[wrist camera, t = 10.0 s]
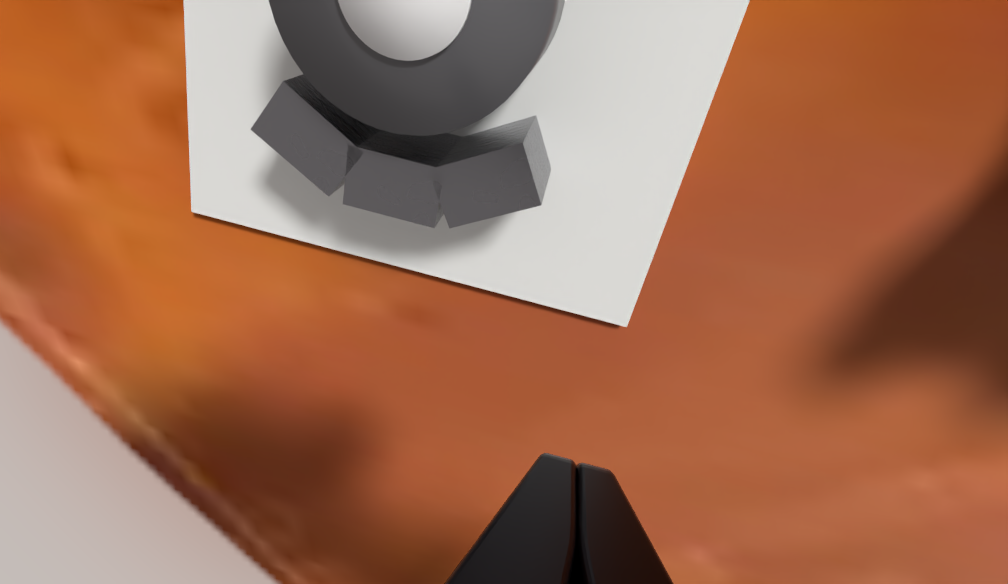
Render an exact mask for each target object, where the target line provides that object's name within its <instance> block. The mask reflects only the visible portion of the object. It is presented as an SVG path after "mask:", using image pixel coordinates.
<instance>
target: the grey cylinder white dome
mask: <svg viewBox="0 0 1008 584" xmlns="http://www.w3.org/2000/svg"><path fill="white" fill-rule="evenodd" d="M564 3H565V0H269V4H270V7H271V10H272V14H273V17H274V20H275V23H276V26H277V28H278V30H279V33H280V35H281V37H282V40H283V42H284V44H285V46H286V47H287V49H288V51H289V53H290V55H291V56H292V58H293V60H294V61H295V63H296V64H297V66H298V67H299V68H300V70H301V71H302V73H303V74H304V75H305V77H306V78H307V79H308V80H309V81H310V82H311V84H312V85H313V86H314V87H315V88H316V89H317V90H318V91H319V92H320V93H321V94H322V95H323V96H324V97H325V98H326V99H328V100H329V101H330V102H331V103H332V104H334V105H335V106H336V107H338V108H339V109H340V110H342V111H343V112H345V113H346V114H348V115H350V116H351V117H353V118H355V119H357V120H358V121H360V122H362V123H365V124H367V125H370V126H372V127H374V128H377V129H380V130H384V131H388V132H391V133H396V134H403V135H410V136H429V135H436V134H443V133H448V132H451V131H455V130H458V129H462V128H464V127H466V126H468V125H471V124H473V123H475V122H477V121H479V120H481V119H482V118H484V117H485V116H487V115H489V114H490V113H492V112H493V111H494V110H495V109H497V108H498V107H499V106H500V105H502V104H503V103H504V102H505V101H506V100H507V99H508V98H509V97H510V96H511V95H512V94H513V93H514V92H515V90H516V89H517V88H518V87H519V86H520V85H521V83H522V82H523V81H524V80H525V78H526V77H527V76H528V74H529V73H530V72H531V71H532V69H533V68H534V67H535V66H536V64H537V63H538V62H539V60H540V59H541V58H542V56H543V55H544V53H545V52H546V50H547V49H548V47H549V45H550V43H551V41H552V39H553V38H554V36H555V33H556V30H557V28H558V25H559V23H560V20H561V16H562V12H563V8H564Z"/></svg>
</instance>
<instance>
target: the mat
mask: <svg viewBox="0 0 1008 584" xmlns="http://www.w3.org/2000/svg"><path fill="white" fill-rule="evenodd" d="M749 1H750V0H565V3H564V8H563V12H562V16H561V20H560V23H559V25H558V28H557V30H556V33H555V36H554V38H553V39H552V41H551V43H550V45H549V47H548V49H547V50H546V52H545V53H544V55H543V56H542V58H541V59H540V60H539V62H538V63H537V64H536V66H535V67H534V68H533V69H532V71H531V72H530V73H529V74H528V76H527V77H526V78H525V80H524V81H523V82H522V83H521V85H520V86H519V87H518V88H517V89H516V90H515V92H514V93H513V94H512V95H511V96H510V97H509V98H508V99H507V100H506V101H505V102H504V103H503V104H502V105H500V106H499V107H498V108H497V109H495V110H494V111H493V112H492V113H490V114H489V115H487V116H485V117H484V118H482V119H481V120H479V121H477V122H475V123H473V124H471V125H468V126H466V127H464V128H462V129H458V130H455V131H451V132H448V133H450V134H454V135H458V136H462V137H463V136H467V135H470V134H474V133H477V132H480V131H484V130H487V129H491V128H494V127H498V126H501V125H504V124H508V123H511V122H515V121H518V120H522V119H525V118H528V117H532V116H535V115H536V116H537V120H538V123H539V127H540V130H541V134H542V137H543V141H544V144H545V148H546V151H547V155H548V159H549V162H550V166H551V172H550V176H549V179H548V183H547V187H546V190H545V194H544V198H543V201H542V205H541V206H537V207H533V208H529V209H525V210H521V211H517V212H513V213H509V214H505V215H501V216H497V217H493V218H489V219H485V220H481V221H477V222H473V223H469V224H465V225H461V226H457V227H453V228H449V226H448V223H447V221H446V218H445V215H443V216H442V218H441V219H440V221H439V222H438V224H437V225H436V227H435V228H431V227H428V226H424V225H420V224H416V223H412V222H409V221H405V220H401V219H397V218H393V217H390V216H386V215H382V214H378V213H374V212H371V211H367V210H363V209H359V208H355V207H352V206H348V205H344V204H343V195H344V185H343V186H341V187H340V188H339V189H338V190H336V191H335V192H334V193H333V194H332V195H330V196H329V197H328V196H327V195H326V194H325V193H324V192H323V191H321V190H320V189H319V188H318V187H317V186H316V185H314V184H313V183H312V182H311V181H310V180H309V179H308V178H306V177H305V176H304V175H303V174H302V173H301V172H299V171H298V170H297V169H296V168H295V167H294V166H292V165H291V164H290V163H289V162H288V161H287V160H285V159H284V158H283V157H282V156H281V155H280V154H278V153H277V152H276V151H275V150H274V149H273V148H271V147H270V146H269V145H268V144H267V143H266V142H264V141H263V140H262V139H261V138H260V137H259V136H257V135H256V134H255V133H254V132H253V131H252V130H250V129H251V128H252V126H253V125H254V123H255V122H256V120H257V119H258V117H259V116H260V114H261V113H262V111H263V110H264V108H265V107H266V106H267V104H268V103H269V101H270V100H271V98H272V97H273V95H274V94H275V92H276V91H277V89H278V88H279V86H280V85H281V83H282V82H283V81H285V80H288V79H291V78H294V77H296V76H299V75H302V74H303V73H302V71H301V70H300V68H299V67H298V66H297V64H296V63H295V61H294V60H293V58H292V56H291V55H290V53H289V51H288V49H287V47H286V46H285V44H284V42H283V40H282V37H281V35H280V33H279V30H278V28H277V26H276V23H275V20H274V17H273V14H272V10H271V7H270V4H269V0H184V24H185V51H186V77H187V104H188V131H189V157H190V184H191V211H192V212H194V213H198V214H202V215H206V216H209V217H213V218H217V219H221V220H224V221H228V222H232V223H236V224H239V225H243V226H247V227H251V228H255V229H258V230H262V231H266V232H270V233H273V234H277V235H281V236H285V237H288V238H292V239H296V240H300V241H304V242H307V243H311V244H315V245H319V246H322V247H326V248H330V249H334V250H338V251H341V252H345V253H349V254H353V255H356V256H360V257H364V258H368V259H371V260H375V261H379V262H383V263H387V264H390V265H394V266H398V267H402V268H405V269H409V270H413V271H417V272H420V273H424V274H428V275H432V276H436V277H439V278H443V279H447V280H451V281H454V282H458V283H462V284H466V285H470V286H473V287H477V288H481V289H485V290H488V291H492V292H496V293H500V294H503V295H507V296H511V297H515V298H519V299H522V300H526V301H530V302H534V303H537V304H541V305H545V306H549V307H552V308H556V309H560V310H564V311H568V312H571V313H575V314H579V315H583V316H586V317H590V318H594V319H598V320H602V321H605V322H609V323H613V324H617V325H620V326H624V327H627V325H628V322H629V320H630V317H631V314H632V312H633V309H634V306H635V304H636V301H637V298H638V296H639V293H640V290H641V288H642V285H643V282H644V280H645V277H646V275H647V272H648V269H649V267H650V264H651V261H652V259H653V256H654V253H655V251H656V248H657V245H658V243H659V240H660V237H661V235H662V232H663V229H664V227H665V224H666V221H667V219H668V216H669V213H670V211H671V208H672V205H673V203H674V200H675V197H676V195H677V192H678V189H679V187H680V184H681V181H682V179H683V176H684V174H685V171H686V168H687V166H688V163H689V160H690V158H691V155H692V152H693V150H694V147H695V144H696V142H697V139H698V136H699V134H700V131H701V128H702V126H703V123H704V120H705V118H706V115H707V112H708V110H709V107H710V104H711V102H712V99H713V96H714V94H715V91H716V88H717V86H718V83H719V80H720V78H721V75H722V73H723V70H724V67H725V65H726V62H727V59H728V57H729V54H730V51H731V49H732V46H733V43H734V41H735V38H736V35H737V33H738V30H739V27H740V25H741V22H742V19H743V17H744V14H745V11H746V9H747V6H748V3H749Z"/></svg>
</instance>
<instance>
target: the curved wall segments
mask: <svg viewBox="0 0 1008 584" xmlns="http://www.w3.org/2000/svg"><path fill="white" fill-rule="evenodd" d="M250 130H252V131H253V132H254V133H255V134H256V135H257V136H259V137H260V138H261V139H262V140H263V141H264V142H266V143H267V144H268V145H269V146H270V147H271V148H273V149H274V150H275V151H276V152H277V153H278V154H280V155H281V156H282V157H283V158H284V159H285V160H287V161H288V162H289V163H290V164H291V165H292V166H294V167H295V168H296V169H297V170H298V171H299V172H301V173H302V174H303V175H304V176H305V177H306V178H308V179H309V180H310V181H311V182H312V183H313V184H314V185H316V186H317V187H318V188H319V189H320V190H321V191H323V192H324V193H325V194H326V195H327V196H328V197H329V196H330V195H332V194H333V193H334V192H335V191H336V190H338V189H339V188H340V187H341V186H343V185H344V195H343V204H344V205H348V206H352V207H355V208H359V209H363V210H367V211H371V212H374V213H378V214H382V215H386V216H390V217H393V218H397V219H401V220H405V221H409V222H412V223H416V224H420V225H424V226H428V227H431V228H435V227H436V225H437V224H438V222H439V221H440V219H441V218H442V216H443V215H445V218H446V221H447V223H448V226H449V228H453V227H457V226H461V225H465V224H469V223H473V222H477V221H481V220H485V219H489V218H493V217H497V216H501V215H505V214H509V213H513V212H517V211H521V210H525V209H529V208H533V207H537V206H541V205H542V201H543V198H544V194H545V190H546V187H547V183H548V179H549V176H550V172H551V166H550V162H549V159H548V155H547V151H546V148H545V144H544V141H543V137H542V134H541V130H540V127H539V123H538V120H537V116H536V115H535V116H532V117H528V118H525V119H522V120H518V121H515V122H511V123H508V124H504V125H501V126H498V127H494V128H491V129H487V130H484V131H480V132H477V133H474V134H470V135H467V136H463V137H462V136H458V135H454V134H450V133H443V134H436V135H429V136H410V135H403V134H396V133H391V132H388V131H384V130H380V129H377V128H374V127H372V126H370V125H367V124H365V123H362V122H360V121H358V120H357V119H355V118H353V117H351V116H350V115H348V114H346V113H345V112H343V111H342V110H340V109H339V108H338V107H336V106H335V105H334V104H332V103H331V102H330V101H329V100H328V99H326V98H325V97H324V96H323V95H322V94H321V93H320V92H319V91H318V90H317V89H316V88H315V87H314V86H313V85H312V84H311V82H310V81H309V80H308V79H307V78H306V77H305V75H304V74H302V75H299V76H296V77H294V78H291V79H288V80H285V81H283V82H282V83H281V85H280V86H279V88H278V89H277V91H276V92H275V94H274V95H273V97H272V98H271V100H270V101H269V103H268V104H267V106H266V107H265V108H264V110H263V111H262V113H261V114H260V116H259V117H258V119H257V120H256V122H255V123H254V125H253V126H252V128H251V129H250Z"/></svg>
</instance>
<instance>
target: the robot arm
mask: <svg viewBox="0 0 1008 584" xmlns="http://www.w3.org/2000/svg"><path fill="white" fill-rule="evenodd" d="M444 584H673V582H672V580H671V578H670V576H669V575H668V573H667V571H666V569H665V567H664V565H663V564H662V562H661V560H660V558H659V556H658V554H657V553H656V551H655V549H654V547H653V545H652V543H651V542H650V540H649V538H648V536H647V534H646V532H645V531H644V529H643V527H642V525H641V523H640V521H639V520H638V518H637V516H636V514H635V512H634V510H633V509H632V507H631V505H630V503H629V501H628V499H627V497H626V496H625V494H624V492H623V490H622V488H621V486H620V485H619V483H618V481H617V479H616V477H615V476H614V474H613V473H612V472H611V471H610V470H608V469H604V468H601V467H597V466H593V465H589V464H586V463H579V464H578V465H577V466H576V465H575V463H574V461H573V460H571V459H567V458H563V457H560V456H556V455H552V454H549V453H544V454H542V455H540V456H539V457H538V459H537V460H536V461H535V463H534V464H533V465H532V467H531V468H530V469H529V471H528V472H527V473H526V475H525V476H524V477H523V479H522V480H521V482H520V483H519V484H518V486H517V487H516V488H515V490H514V491H513V492H512V494H511V495H510V496H509V498H508V499H507V500H506V502H505V503H504V504H503V506H502V507H501V508H500V510H499V511H498V512H497V514H496V515H495V516H494V518H493V519H492V520H491V522H490V523H489V524H488V526H487V527H486V528H485V530H484V531H483V532H482V534H481V535H480V536H479V538H478V539H477V541H476V542H475V543H474V545H473V546H472V547H471V549H470V550H469V551H468V553H467V554H466V555H465V557H464V558H463V559H462V561H461V562H460V563H459V565H458V566H457V567H456V569H455V570H454V571H453V573H452V574H451V575H450V577H449V578H448V579H447V581H446V582H445V583H444Z"/></svg>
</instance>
